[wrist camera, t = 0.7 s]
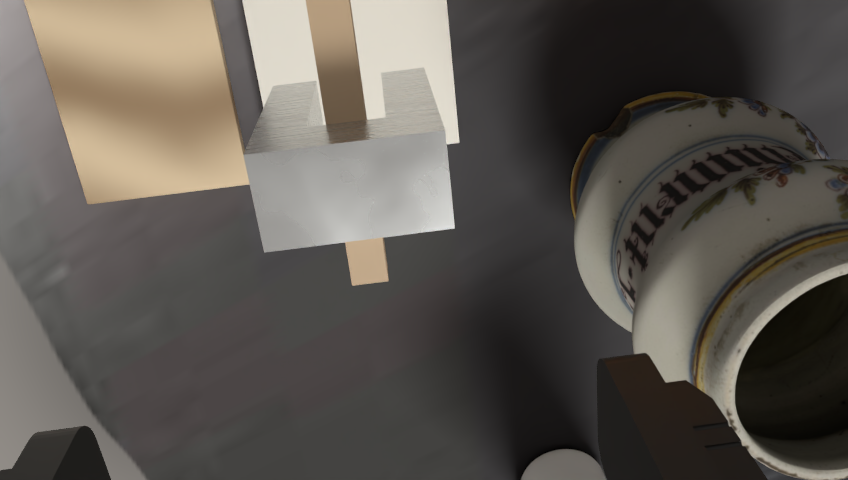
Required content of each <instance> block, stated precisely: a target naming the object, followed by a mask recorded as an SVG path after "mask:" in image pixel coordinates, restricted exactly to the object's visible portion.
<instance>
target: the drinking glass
mask: <svg viewBox="0 0 848 480" xmlns="http://www.w3.org/2000/svg"><path fill="white" fill-rule="evenodd" d="M521 480H607V479H606V477H605V474H604V472H603V470H602V468H601V466H600V465H599V463H598V462H597V461H596V460H595V459H594V458H592V457H591V456H590V455H588V454H586V453H584V452H582V451H578V450H574V449H558V450H553V451H550V452H547V453H545V454H543V455H541V456H539V457H537V458H536V459H535V460H534V461H532V462H531V463H530V464H529V465H528V467H527V468H526V469H525V471H524V473H523V475H522V477H521Z"/></svg>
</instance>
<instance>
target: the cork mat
mask: <svg viewBox="0 0 848 480" xmlns="http://www.w3.org/2000/svg"><path fill="white" fill-rule="evenodd" d="M24 2H25V5H26V8H27V11H28V14H29V18H30V21H31V24H32V27H33V30H34V34H35V37H36V40H37V43H38V46H39V50H40V53H41V56H42V59H43V62H44V66H45V69H46V72H47V75H48V78H49V82H50V85H51V88H52V91H53V94H54V98H55V101H56V104H57V107H58V110H59V114H60V117H61V120H62V123H63V127H64V130H65V133H66V136H67V139H68V143H69V146H70V149H71V152H72V155H73V159H74V162H75V165H76V168H77V171H78V175H79V178H80V181H81V184H82V187H83V191H84V194H85V197H86V200H87V203H88V204H95V203H103V202H111V201H119V200H127V199H135V198H143V197H151V196H159V195H167V194H175V193H183V192H191V191H199V190H208V189H216V188H224V187H232V186H240V185H248V184H250V183H249V179H248V174H247V169H246V165H245V160H244V153H245V149H244V144H243V139H242V135H241V130H240V125H239V121H238V116H237V111H236V107H235V102H234V97H233V92H232V88H231V83H230V78H229V74H228V69H227V64H226V59H225V55H224V50H223V45H222V41H221V36H220V31H219V27H218V22H217V17H216V12H215V8H214V3H213V0H24Z"/></svg>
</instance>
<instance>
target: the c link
mask: <svg viewBox="0 0 848 480" xmlns="http://www.w3.org/2000/svg"><path fill="white" fill-rule="evenodd" d="M381 77H382V87H383V96H384V106H385V115H386V117H384V118H376V119H368V120H360V121H351V122H343V123H335V124H327V125H324V124H323V118H322V112H321V106H320V100H319V94H318V88H317V82H316V81H308V82H300V83H292V84H284V85H275V86H273V87H272V89H271V92H270V94H269V96H268V99H267V101H266V103H265V106H264V108H263V110H262V113H261V115H260V117H259V120H258V122H257V125H256V127H255V129H254V132H253V134H252V136H251V139H250V141H249V143H248V146H247V148H246V150H245V153H244V160H245V165H246V169H247V174H248V179H249V183H250V188H251V193H252V197H253V202H254V207H255V211H256V216H257V221H258V225H259V230H260V235H261V239H262V244H263V249H264V252H272V251H280V250H288V249H296V248H303V247H311V246H319V245H327V244H335V243H343V242H351V241H359V240H367V239H375V238H382V237H390V236H398V235H406V234H414V233H422V232H430V231H438V230H446V229H454V228H455V226H454V215H453V205H452V195H451V184H450V174H449V164H448V153H447V143H446V133H445V128H444V125H443V122H442V119H441V116H440V113H439V110H438V107H437V104H436V101H435V98H434V95H433V92H432V90H431V87H430V84H429V81H428V78H427V75H426V72H425V69H424V67H423V68H415V69H407V70H399V71H390V72H382V73H381Z"/></svg>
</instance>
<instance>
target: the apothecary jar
mask: <svg viewBox="0 0 848 480" xmlns="http://www.w3.org/2000/svg"><path fill="white" fill-rule="evenodd" d="M570 198H571V207H572V212H573V215H574V219H575V226H574V249H575V256H576V261H577V266H578V269H579V272H580V275H581V278H582V280H583V282H584V284H585V286H586V288H587V290H588V292H589V294H590V295H591V297H592V298H593V299H594V301H595V302H596V303H597V305H598V306H599V307H600V308H601V309H602V310H603V311H604V312H605V313H606V314H607V315H608V316H609V317H610V318H611V319H612V320H614V321H615V322H616V323H618V324H619V325H620V326H622V327H623V328H625V329H627V330H628V331H630V332H632V343H633V350H634V354H640V353H647V354H648V355H649V356H650V358H651V359H652V361H653V363H654V364H655V366H656V367H657V369H658V371H659V372H660V374H661V376H662V377H663V379H664V381H665V382H666V383H667V382H674V381H682V380H687V381H688V382H689V383H691V384H692V385H694V386H695V387H697V388H698V389H700V390H701V391H703V392H704V393H705V394H707V395H708V396H710V397H711V398H713V400H714V401H715V403H716V404H717V406H718V407H719V409H720V410H721V412H722V413H723V414H724V416H725V417H726V419H727V420H728V423H729V427H730V426H732V428H733V429H734V431H735V432H736V434H737V435H738V437H739V438H740V440H741V442H742V446H745V447H746V448H747V450H748V451H749V453H750V454H751V456H752V457H754V458H755V459H756V460H758V461H759V462H761V463H762V464H764V465H766V466H767V467H769V468H771V469H773V470H775V471H777V472H780V473H783V474H785V475H788V476H792V477H796V478H801V479H808V480H837V479H843V478H848V161H846V160H836V159H830V157H829V155H828V154H827V152H826V150H825V148H824V146H823V145H822V144H821V142H820V141H819V140H818V138H817V137H816V136H815V135H814V134H813V133H812V132H811V130H810V129H809V128H808V127H807V126H805V125H804V124H803V123H802V122H800V121H799V120H798V119H796V118H795V117H793V116H792V115H790V114H789V113H787V112H785V111H783V110H781V109H779V108H777V107H774V106H772V105H769V104H766V103H763V102H760V101H756V100H751V99H746V98H737V97H712V98H711V97H709V96H706V95H703V94H700V93H692V92H683V91H674V92H663V93H657V94H653V95H650V96H646V97H643V98H641V99H638V100H636V101H633V102H631V103H629V104H627V105H625V106H624V107H623V108H622V110H621V112H620V113H619V115H618V116H617V117H616V119H615V120H614V122H613V123H612V125H611V126H610V127H609V128H608V129H607V130H605V131H602V132H597V133H593V134H592V135H591V136H590V137H589V139H588V140H587V142H586V143H585V145H584V146H583V148H582V150H581V152H580V154H579V156H578V158H577V161H576V163H575V166H574V168H573V171H572V178H571V189H570Z"/></svg>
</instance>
